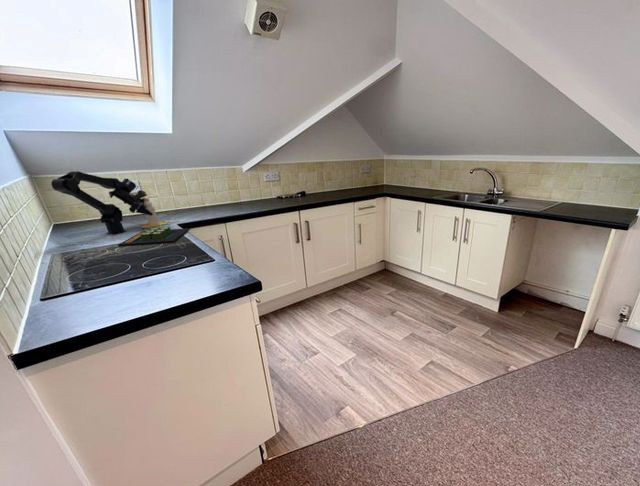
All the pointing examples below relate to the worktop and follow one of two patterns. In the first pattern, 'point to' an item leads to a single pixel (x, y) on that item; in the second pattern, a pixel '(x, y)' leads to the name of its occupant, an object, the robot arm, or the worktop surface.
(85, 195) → the robot arm
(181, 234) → the sushi
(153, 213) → the toy rabbit
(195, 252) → the worktop surface
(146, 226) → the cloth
